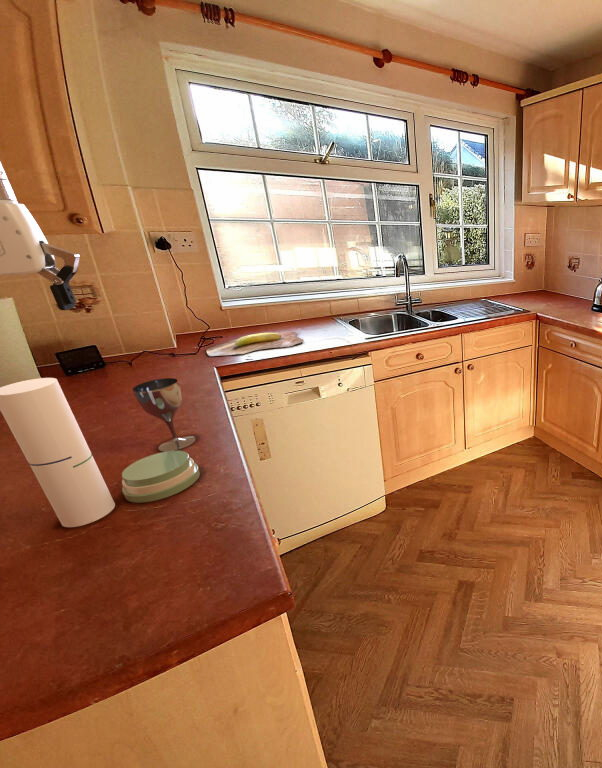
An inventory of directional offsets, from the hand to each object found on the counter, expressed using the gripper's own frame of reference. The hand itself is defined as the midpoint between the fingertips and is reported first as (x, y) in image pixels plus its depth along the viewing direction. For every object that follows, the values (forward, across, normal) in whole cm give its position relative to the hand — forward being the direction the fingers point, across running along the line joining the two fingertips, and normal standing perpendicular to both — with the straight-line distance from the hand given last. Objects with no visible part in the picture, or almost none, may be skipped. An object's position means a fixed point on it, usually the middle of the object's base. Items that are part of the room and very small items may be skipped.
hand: (29, 311), depth 67 cm
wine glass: (+36, +4, +20) cm, 41 cm away
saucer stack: (+36, +7, +2) cm, 37 cm away
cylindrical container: (+36, -2, -4) cm, 36 cm away
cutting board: (+36, +7, +106) cm, 112 cm away
